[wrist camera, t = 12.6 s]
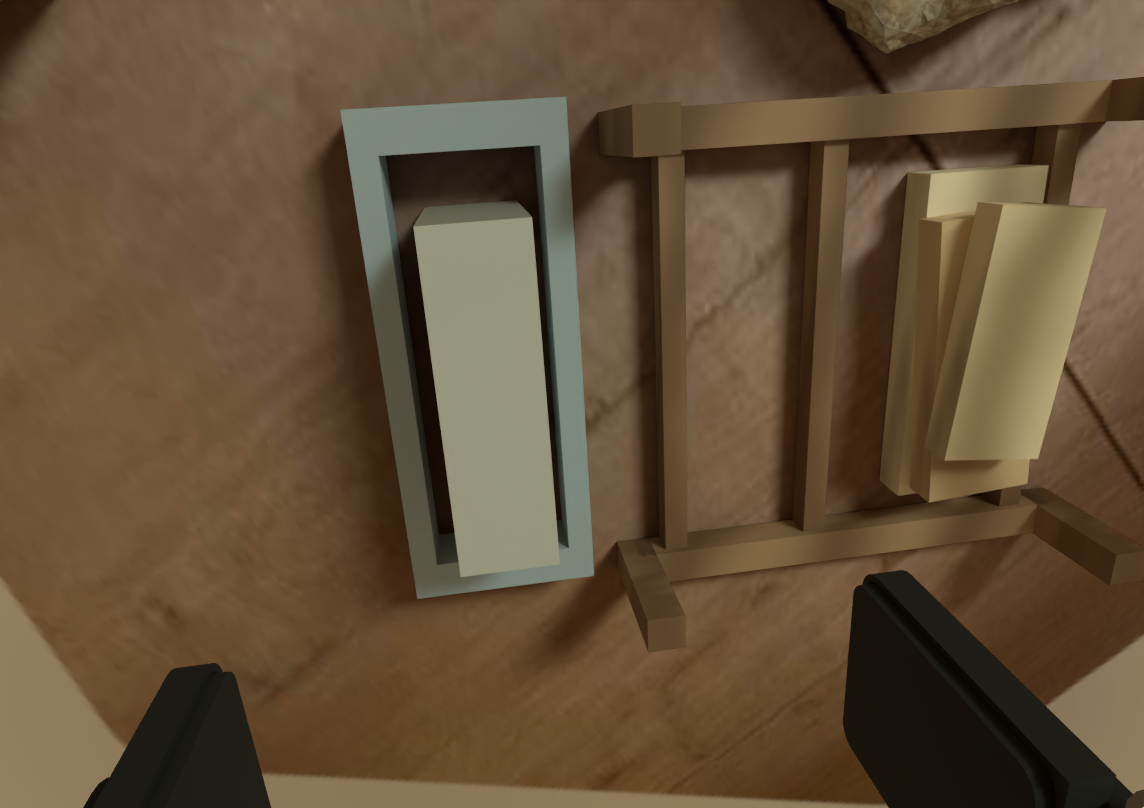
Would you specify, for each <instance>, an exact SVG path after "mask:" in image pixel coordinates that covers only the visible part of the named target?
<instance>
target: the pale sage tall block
mask: <svg viewBox="0 0 1144 808" xmlns="http://www.w3.org/2000/svg"><path fill="white" fill-rule="evenodd" d="M413 228H414V235H415V243H416V250H417V257H418V265H419V272H420V280H421V287H422V294H423V302H424V309H425V317H426V324H427V331H428V339H429V346H430V354H431V361H432V368H433V376H434V383H435V391H436V398H437V406H438V413H439V420H440V428H441V435H442V443H443V450H444V457H445V465H446V472H447V480H448V487H449V494H450V502H451V509H452V517H453V524H454V531H455V539H456V546H457V554H458V561H459V568H460V576H461V577H466V576H474V575H482V574H489V573H497V572H504V571H512V570H519V569H527V568H534V567H542V566H550V565H557V564H560V558H559V546H558V533H557V521H556V509H555V496H554V484H553V471H552V459H551V446H550V434H549V421H548V409H547V396H546V384H545V371H544V359H543V346H542V334H541V321H540V309H539V296H538V284H537V271H536V259H535V246H534V234H533V221H532V216H531V215H530V214H529V213H528V212H527V211H526V210H525V209H524V208H523V207H522V206H521V205H520V204H519V203H518V201H517V200H513V201H500V202H487V203H474V204H461V205H448V206H435V207H425V208H424V209H423V211H422V213H421V214H420V216H419V218H418V220H417V221H416V223H415V225H414V226H413Z"/></svg>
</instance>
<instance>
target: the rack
mask: <svg viewBox="0 0 1144 808" xmlns="http://www.w3.org/2000/svg"><path fill="white" fill-rule="evenodd" d="M1133 120H1144V77H1139V78H1128V79H1118V80H1105V81H1089V82H1072V83H1056V84H1039V85H1023V86H1007V87H990V88H974V89H958V90H941V91H925V92H909V93H892V94H876V95H859V96H843V97H827V98H810V99H794V100H778V101H761V102H745V103H729V104H712V105H696V106H681V102H671V103H655V104H638V105H629V106H625V107H620V108H616V109H612V110H607V111H603V112H599V113H598V130H599V152H600V155H609V156H621V157H633V158H634V157H648V156H651V193H652V237H653V282H654V326H655V370H656V414H657V459H658V503H659V536H658V537H650V538H643V539H635V540H627V541H619V542H617V550H618V570H619V573H620V575H621V578H622V581H623V584H624V586H625V589H626V592H627V595H628V597H629V600H630V603H631V606H632V608H633V611H634V614H635V617H636V619H637V622H638V625H639V628H640V630H641V633H642V636H643V639H644V641H645V644H646V647H647V650H648V652H655V651H662V650H669V649H675V648H682V647H686V643H685V614H684V612H683V609H682V607H681V605H680V603H679V601H678V599H677V597H676V595H675V592H674V590H673V588H672V586H671V584H670V582H671V581H678V580H686V579H693V578H701V577H708V576H716V575H723V574H730V573H738V572H745V571H753V570H760V569H768V568H775V567H783V566H790V565H798V564H805V563H812V562H820V561H827V560H835V559H842V558H850V557H857V556H865V555H872V554H880V553H887V552H894V551H902V550H909V549H917V548H924V547H932V546H939V545H947V544H954V543H962V542H969V541H976V540H984V539H991V538H999V537H1006V536H1014V535H1021V534H1029V533H1034V534H1035V535H1036V536H1038V537H1039V538H1041V539H1042V540H1044V541H1045V542H1047V543H1048V544H1050V545H1051V546H1053V547H1054V548H1055V549H1057V550H1058V551H1060V552H1061V553H1063V554H1064V555H1066V556H1067V557H1069V558H1070V559H1072V560H1073V561H1074V562H1076V563H1077V564H1079V565H1080V566H1082V567H1083V568H1085V569H1086V570H1088V571H1089V572H1091V573H1092V574H1093V575H1095V576H1096V577H1098V578H1099V579H1101V580H1102V581H1104V582H1105V583H1107V584H1108V585H1110V586H1111V585H1118V584H1125V583H1132V582H1139V581H1142V578H1143V574H1144V547H1143V546H1141V545H1139V544H1137V543H1136V542H1134V541H1132V540H1131V539H1129V538H1127V537H1126V536H1124V535H1122V534H1121V533H1119V532H1117V531H1116V530H1114V529H1112V528H1110V527H1109V526H1107V525H1105V524H1104V523H1102V522H1100V521H1099V520H1097V519H1095V518H1094V517H1092V516H1090V515H1089V514H1087V513H1085V512H1084V511H1082V510H1080V509H1078V508H1077V507H1075V506H1073V505H1072V504H1070V503H1068V502H1067V501H1065V500H1063V499H1062V498H1060V497H1058V496H1057V495H1055V494H1053V493H1052V492H1050V491H1048V490H1046V489H1045V488H1036V489H1028V490H1021V487H1022V485H1018V486H1013V487H1008V488H1003V489H998V490H992V491H987V492H983V495H981V496H973V497H965V498H958V499H950V500H942V501H935V502H930V503H929V502H926V503H918V504H910V505H902V506H895V507H887V508H879V509H871V510H863V511H855V512H847V513H839V514H832V515H825V508H826V492H827V477H828V462H829V446H830V431H831V416H832V400H833V385H834V370H835V355H836V339H837V324H838V309H839V293H840V278H841V263H842V247H843V232H844V217H845V202H846V186H847V171H848V156H849V140H850V139H854V138H869V137H884V136H898V135H913V134H928V133H943V132H957V131H972V130H987V129H1002V128H1016V127H1031V126H1037V128H1036V135H1035V141H1034V148H1033V155H1032V162H1031V165H1049V168H1048V174H1047V181H1046V187H1045V194H1044V200H1043V204H1052V205H1069V199H1070V193H1071V187H1072V181H1073V175H1074V169H1075V163H1076V157H1077V151H1078V145H1079V139H1080V133H1081V127H1082V123H1090V122H1105V121H1133ZM810 141H811V147H810V167H809V188H808V209H807V230H806V250H805V271H804V292H803V312H802V333H801V354H800V375H799V395H798V416H797V437H796V457H795V478H794V499H793V519H792V520H784V521H776V522H769V523H761V524H753V525H745V526H737V527H729V528H721V529H713V530H706V531H698V532H690V533H687V421H686V288H685V155H684V150H692V149H707V148H722V147H736V146H751V145H766V144H781V143H795V142H810Z"/></svg>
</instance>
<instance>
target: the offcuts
mask: <svg viewBox="0 0 1144 808" xmlns="http://www.w3.org/2000/svg"><path fill="white" fill-rule="evenodd" d="M1048 168H1049V165H1027V164H1017V165H1003V166H990V167H976V168H963V169H949V170H936V171H922V172H909V173H908V176H907V186H906V197H905V208H904V219H903V230H902V241H901V251H900V262H899V273H898V284H897V295H896V305H895V316H894V327H893V338H892V349H891V360H890V370H889V381H888V392H887V403H886V414H885V425H884V435H883V446H882V457H881V468H880V479H879V481H880V482H882V483H883V484H884V485H885V486H886V487H888V488H889V489H890V490H891V491H893V492H894V493H895V494H896V495H898V496H901V495H909V494H919V495H920V496H921V497H922V498H924V499H925V500H926V501H928V502H929V503H930V502H935V501H940V500H945V499H951V498H956V497H961V496H966V495H971V494H977V493H982V492H987V491H992V490H998V489H1003V488H1008V487H1013V486H1018V485H1024V484H1027V483H1028V473H1029V463H1030V459H1038V457H1039V453H1040V449H1041V446H1042V442H1043V438H1044V435H1045V431H1046V428H1047V424H1048V420H1049V417H1050V413H1051V409H1052V406H1053V402H1054V398H1055V395H1056V391H1057V388H1058V384H1059V380H1060V377H1061V373H1062V369H1063V366H1064V362H1065V358H1066V355H1067V351H1068V348H1069V344H1070V340H1071V337H1072V333H1073V329H1074V326H1075V322H1076V318H1077V315H1078V311H1079V308H1080V304H1081V300H1082V297H1083V293H1084V289H1085V286H1086V282H1087V278H1088V275H1089V271H1090V268H1091V264H1092V260H1093V257H1094V253H1095V249H1096V246H1097V242H1098V238H1099V235H1100V231H1101V228H1102V224H1103V220H1104V217H1105V213H1106V208H1097V207H1087V206H1077V205H1052V204H1043V200H1044V194H1045V187H1046V181H1047V174H1048Z"/></svg>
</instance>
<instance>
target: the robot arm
mask: <svg viewBox="0 0 1144 808" xmlns="http://www.w3.org/2000/svg"><path fill="white" fill-rule="evenodd" d="M843 726H844V731H845V735H846V738H847V741H848V743H849V745H850V747H851V749H852V750H853V752H854V753H855V755H856V756H857V758H858V760H859V761H860V763H861V764H862V766H863V767H864V769H865V771H866V772H867V774H868V775H869V777H870V779H871V780H872V782H873V783H874V785H875V786H876V788H877V790H878V791H879V793H880V794H881V796H882V798H883V799H884V801H885V802H886V804H887V805H888V807H889V808H1144V790H1140V791H1137V792H1135V793H1134V794H1132V793H1131V792H1130V791H1129V790H1128V789H1127V788H1126V787H1125V786H1124V785H1123V784H1122V783H1121V782H1120V781H1119V780H1118V779H1117V778H1116V775H1115V774H1114V773H1113V772H1112V771H1111V770H1110V769H1109V768H1108V767H1107V766H1106V765H1105V764H1104V763H1103V762H1102V761H1101V760H1100V759H1099V758H1098V757H1097V756H1096V755H1095V754H1094V753H1093V752H1092V751H1091V750H1090V749H1089V748H1088V747H1087V746H1086V745H1085V744H1084V743H1083V742H1082V741H1081V740H1080V739H1079V738H1078V737H1077V736H1076V735H1075V734H1073V733H1072V732H1071V731H1070V730H1069V729H1068V728H1067V727H1066V726H1065V725H1064V724H1063V723H1062V722H1061V721H1060V720H1059V719H1058V718H1057V717H1056V716H1055V715H1054V714H1053V713H1052V712H1051V711H1050V710H1049V709H1048V708H1047V707H1046V706H1045V705H1044V704H1043V703H1042V702H1041V701H1040V700H1039V699H1038V698H1037V697H1036V696H1035V695H1034V694H1033V693H1032V692H1031V691H1029V690H1028V689H1027V688H1026V687H1025V686H1024V685H1023V684H1022V683H1021V682H1020V681H1019V680H1018V679H1017V678H1016V677H1015V676H1014V675H1013V674H1012V673H1011V672H1010V671H1009V670H1008V669H1007V668H1006V667H1005V666H1004V665H1003V664H1002V663H1001V662H1000V661H999V660H998V659H997V658H996V657H995V656H994V655H993V654H992V653H991V652H990V651H989V650H988V649H986V648H985V647H984V646H983V645H982V644H981V643H980V642H979V641H978V640H977V639H976V638H975V637H974V636H973V635H972V634H971V633H970V632H969V631H968V630H967V629H966V628H965V627H964V626H963V625H962V624H961V623H960V622H959V621H958V620H957V619H956V618H955V617H954V616H953V615H952V614H951V613H950V612H949V611H948V610H947V609H946V608H945V607H943V606H942V605H941V604H940V603H939V602H938V601H937V600H936V599H935V598H934V597H933V596H932V595H931V594H930V593H929V592H928V591H927V590H926V589H925V588H924V587H923V586H922V585H921V584H920V583H919V582H918V581H917V580H916V579H915V578H914V577H913V576H912V575H911V574H909V573H908V572H907V571H903V570H899V571H892V572H884V573H877V574H869V575H867V576H866V577H865V579H864V580H863V585H859V586H857V587H856V588H855V590H854V595H853V607H852V619H851V631H850V643H849V655H848V667H847V679H846V691H845V703H844V715H843ZM84 808H271V806H270V802H269V798H268V795H267V791H266V787H265V784H264V780H263V776H262V773H261V769H260V765H259V762H258V758H257V754H256V751H255V747H254V743H253V740H252V736H251V732H250V729H249V725H248V721H247V718H246V714H245V710H244V707H243V703H242V699H241V696H240V692H239V688H238V685H237V681H236V678H235V676H234V674H233V673H232V672H222V669H221V667H220V666H219V665H218V664H216V663H211V664H203V665H196V666H189V667H181V668H175V669H173V670H171V671H170V672H169V674H168V675H167V677H166V678H165V680H164V682H163V684H162V685H161V687H160V689H159V691H158V693H157V694H156V696H155V698H154V700H153V701H152V703H151V705H150V707H149V709H148V710H147V712H146V714H145V716H144V717H143V719H142V721H141V723H140V725H139V726H138V728H137V730H136V732H135V733H134V735H133V737H132V739H131V740H130V742H129V744H128V746H127V748H126V749H125V751H124V753H123V755H122V756H121V758H120V760H119V762H118V764H117V765H116V767H115V769H114V771H113V772H112V774H111V776H110V778H106V779H105V780H103V781H102V782H101V783H99V784H98V786H97V787H96V788H95V790H94V791H93V792H92V794H91V795H90V797H89V799H88V801H87V802H86V804H85V806H84Z"/></svg>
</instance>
